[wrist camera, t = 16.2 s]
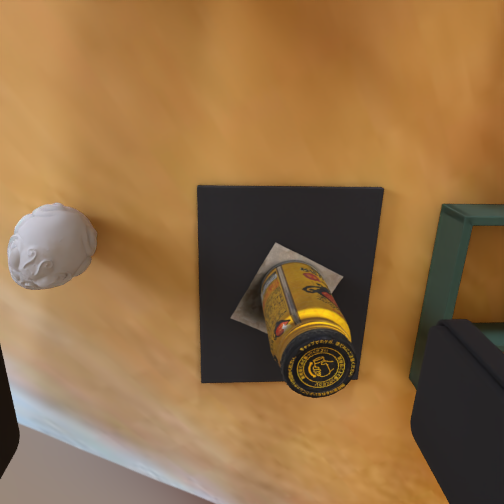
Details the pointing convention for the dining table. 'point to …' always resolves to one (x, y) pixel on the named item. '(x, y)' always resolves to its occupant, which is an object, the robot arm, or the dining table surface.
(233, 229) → the mat
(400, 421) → the dining table surface
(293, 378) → the condiment
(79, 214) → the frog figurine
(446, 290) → the caddy
